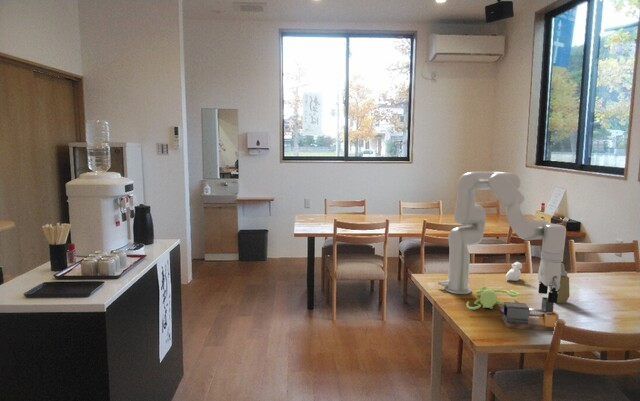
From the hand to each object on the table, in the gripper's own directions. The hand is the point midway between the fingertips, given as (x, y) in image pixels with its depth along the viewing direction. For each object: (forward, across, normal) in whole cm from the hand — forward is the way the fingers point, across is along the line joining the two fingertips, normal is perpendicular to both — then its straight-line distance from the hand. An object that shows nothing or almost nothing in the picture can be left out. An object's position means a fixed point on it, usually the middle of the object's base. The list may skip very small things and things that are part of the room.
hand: (547, 297), depth 166 cm
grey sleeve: (+10, +1, -11) cm, 15 cm away
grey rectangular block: (+8, +1, -4) cm, 9 cm away
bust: (+13, -59, +6) cm, 61 cm away
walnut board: (+12, +1, -6) cm, 13 cm away
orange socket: (+10, +1, +1) cm, 10 cm away
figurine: (+13, -21, -14) cm, 29 cm away
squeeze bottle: (+12, -29, +17) cm, 36 cm away
